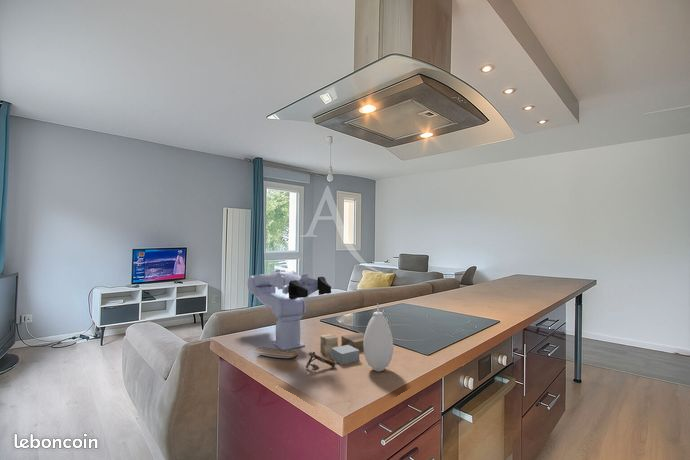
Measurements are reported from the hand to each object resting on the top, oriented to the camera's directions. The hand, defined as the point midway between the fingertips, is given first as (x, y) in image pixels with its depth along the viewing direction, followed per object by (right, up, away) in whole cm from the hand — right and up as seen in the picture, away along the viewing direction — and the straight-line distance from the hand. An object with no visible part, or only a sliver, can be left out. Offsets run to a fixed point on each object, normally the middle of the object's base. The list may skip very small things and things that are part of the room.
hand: (318, 291), depth 90 cm
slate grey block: (+8, -20, +2) cm, 22 cm away
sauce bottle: (+17, -20, -6) cm, 27 cm away
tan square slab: (+12, -21, +14) cm, 28 cm away
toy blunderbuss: (+1, -20, -4) cm, 21 cm away
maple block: (+3, -21, +8) cm, 23 cm away
